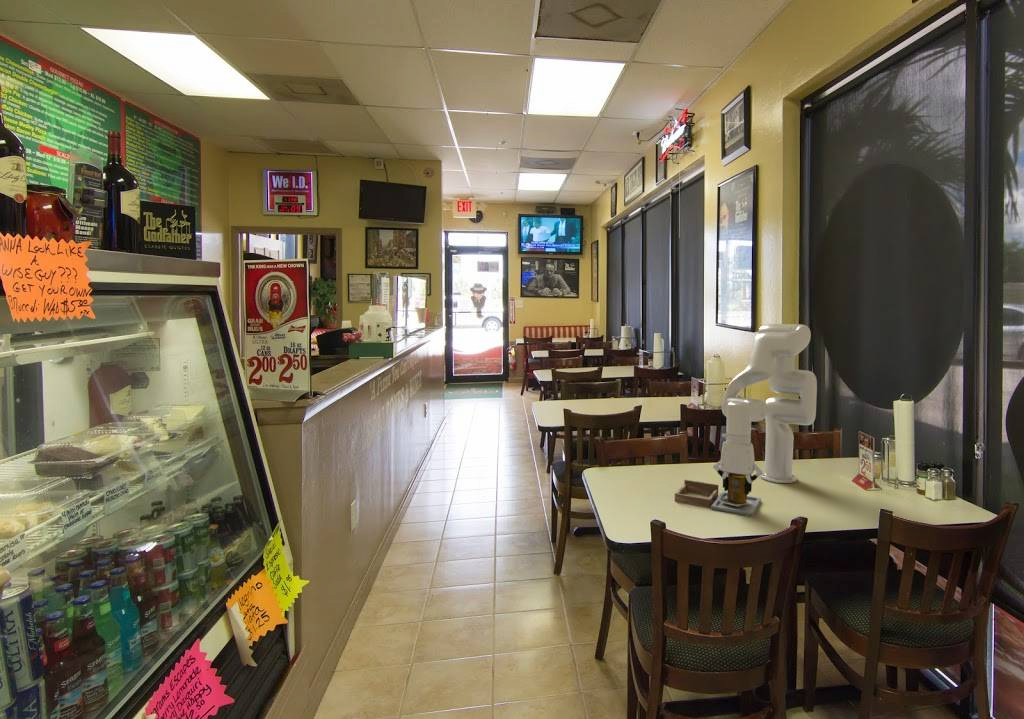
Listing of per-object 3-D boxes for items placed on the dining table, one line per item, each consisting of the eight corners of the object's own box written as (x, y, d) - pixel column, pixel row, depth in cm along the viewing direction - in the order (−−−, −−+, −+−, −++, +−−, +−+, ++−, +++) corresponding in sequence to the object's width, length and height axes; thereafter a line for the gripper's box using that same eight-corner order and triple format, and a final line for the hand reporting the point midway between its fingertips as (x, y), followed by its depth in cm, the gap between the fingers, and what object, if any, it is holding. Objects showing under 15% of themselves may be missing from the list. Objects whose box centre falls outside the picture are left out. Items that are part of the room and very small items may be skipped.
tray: (722, 494, 192) (722, 491, 192) (760, 501, 186) (760, 498, 186) (711, 509, 179) (711, 505, 179) (752, 516, 172) (752, 513, 172)
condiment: (752, 502, 182) (753, 467, 181) (737, 507, 177) (738, 470, 176) (732, 497, 188) (733, 462, 187) (717, 501, 183) (718, 465, 182)
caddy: (684, 490, 198) (685, 479, 197) (718, 495, 192) (718, 484, 191) (674, 500, 187) (674, 489, 187) (709, 507, 181) (709, 495, 181)
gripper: (708, 438, 182) (707, 490, 184) (765, 444, 172) (763, 499, 174) (713, 433, 188) (712, 484, 190) (768, 439, 179) (766, 492, 180)
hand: (736, 491), depth 182 cm, fingers closed on condiment, 6 cm apart
